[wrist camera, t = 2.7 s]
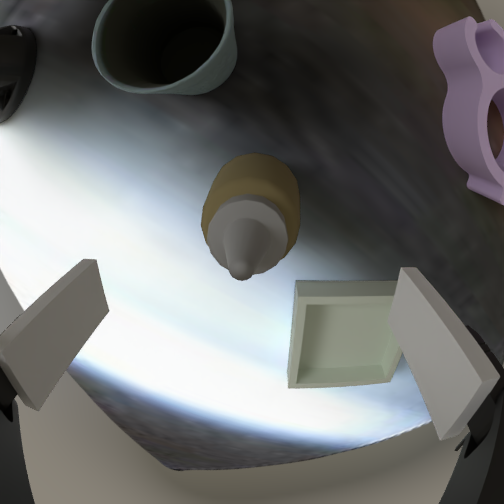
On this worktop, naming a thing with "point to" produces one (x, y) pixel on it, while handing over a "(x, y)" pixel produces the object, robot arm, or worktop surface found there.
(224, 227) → the squeeze bottle
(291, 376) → the tray
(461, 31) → the clip
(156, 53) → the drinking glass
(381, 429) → the worktop surface
